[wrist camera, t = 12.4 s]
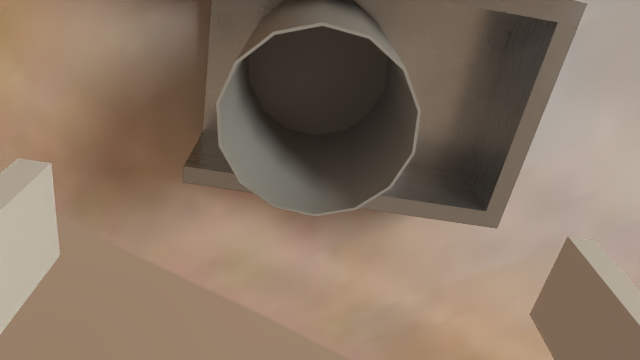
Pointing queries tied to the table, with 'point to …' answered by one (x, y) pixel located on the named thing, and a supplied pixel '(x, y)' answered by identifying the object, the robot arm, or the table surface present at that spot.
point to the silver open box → (432, 96)
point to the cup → (318, 109)
